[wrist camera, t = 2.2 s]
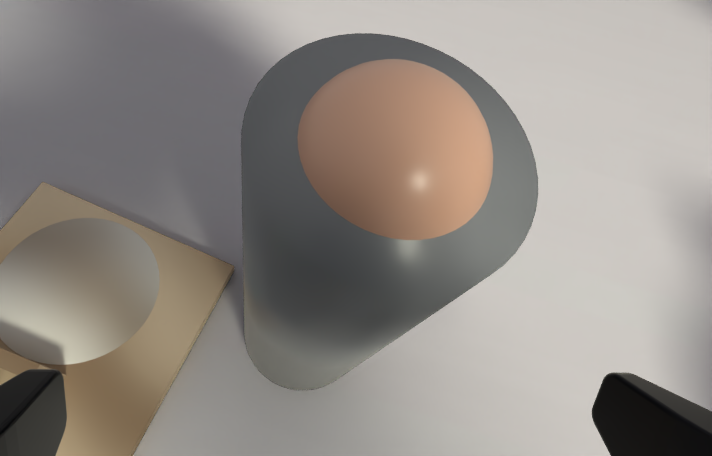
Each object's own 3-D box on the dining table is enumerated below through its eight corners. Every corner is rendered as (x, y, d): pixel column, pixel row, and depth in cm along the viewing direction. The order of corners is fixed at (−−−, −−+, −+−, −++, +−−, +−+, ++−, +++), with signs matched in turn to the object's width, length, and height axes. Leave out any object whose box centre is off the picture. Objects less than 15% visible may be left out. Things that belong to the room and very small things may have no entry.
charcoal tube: (336, 410, 17) (557, 334, 5) (222, 360, 17) (162, 158, 5) (377, 299, 19) (600, 59, 7) (275, 255, 19) (327, -69, 7)
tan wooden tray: (65, 577, 13) (46, 591, 12) (-192, 469, 13) (-242, 473, 12) (234, 270, 18) (233, 256, 17) (47, 187, 18) (32, 167, 17)
